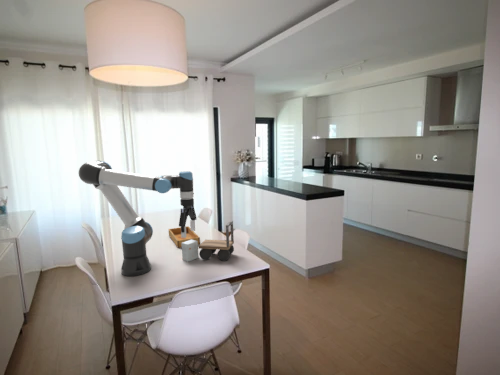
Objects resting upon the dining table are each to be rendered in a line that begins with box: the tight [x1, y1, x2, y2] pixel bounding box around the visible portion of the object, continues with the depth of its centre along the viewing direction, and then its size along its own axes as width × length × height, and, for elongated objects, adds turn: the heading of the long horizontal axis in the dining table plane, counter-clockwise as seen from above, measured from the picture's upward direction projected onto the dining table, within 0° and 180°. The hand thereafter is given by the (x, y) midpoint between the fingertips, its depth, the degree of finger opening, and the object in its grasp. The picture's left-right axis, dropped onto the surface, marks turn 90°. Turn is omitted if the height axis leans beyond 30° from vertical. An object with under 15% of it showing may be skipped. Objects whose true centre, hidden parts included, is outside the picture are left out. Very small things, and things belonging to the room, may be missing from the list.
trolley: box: [198, 220, 235, 262], centre depth 183 cm, size 12×18×21 cm, turn 78°
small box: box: [181, 239, 200, 263], centre depth 183 cm, size 8×6×10 cm
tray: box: [168, 226, 201, 249], centre depth 220 cm, size 31×15×6 cm, turn 25°
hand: (188, 234), depth 181 cm, fingers open, 13 cm apart
